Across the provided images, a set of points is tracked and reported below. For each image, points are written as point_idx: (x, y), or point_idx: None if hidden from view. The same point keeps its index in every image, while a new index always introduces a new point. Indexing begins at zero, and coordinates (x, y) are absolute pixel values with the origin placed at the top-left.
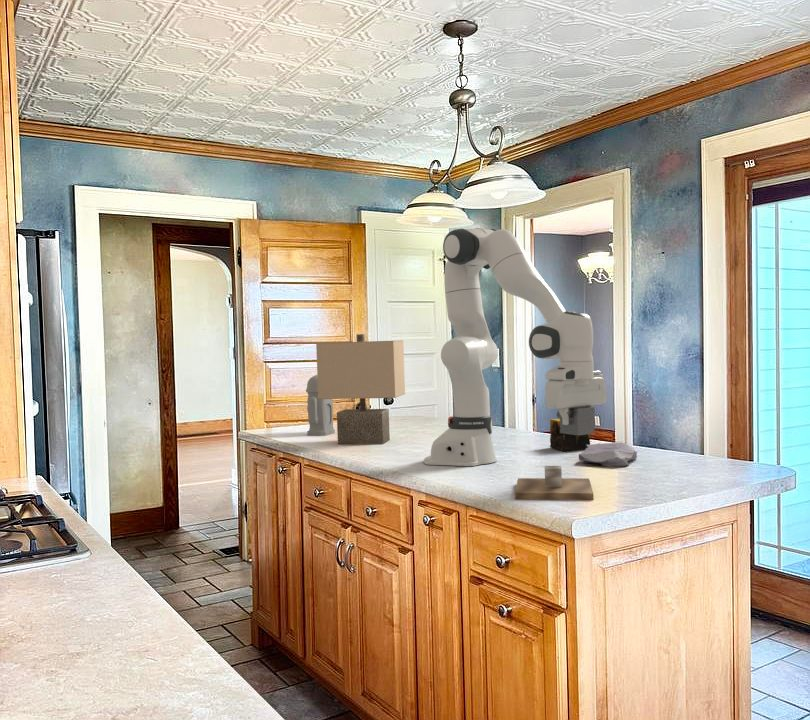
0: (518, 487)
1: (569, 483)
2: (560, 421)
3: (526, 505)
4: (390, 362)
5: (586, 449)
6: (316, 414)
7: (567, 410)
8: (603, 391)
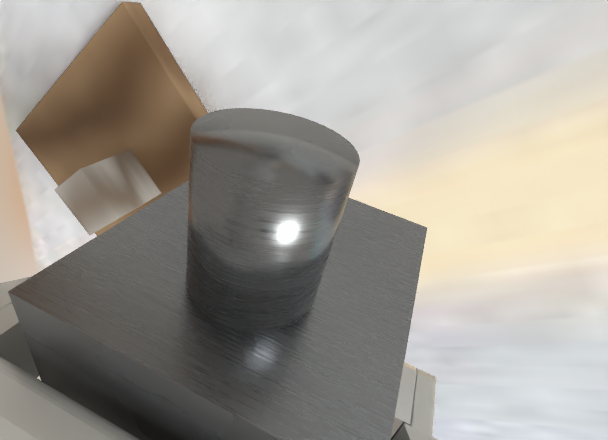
0: (49, 102)
1: None
2: (166, 200)
3: (27, 177)
4: None
5: None
6: None
7: (25, 371)
8: None
